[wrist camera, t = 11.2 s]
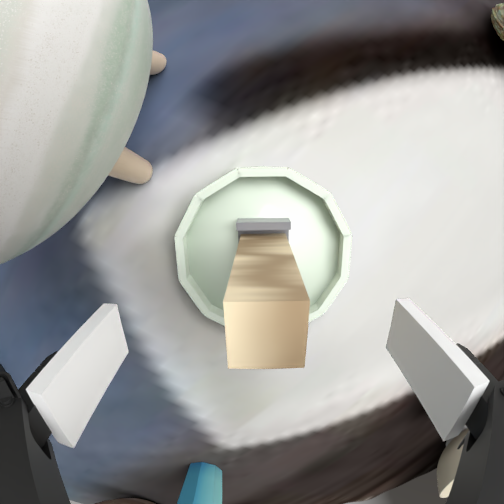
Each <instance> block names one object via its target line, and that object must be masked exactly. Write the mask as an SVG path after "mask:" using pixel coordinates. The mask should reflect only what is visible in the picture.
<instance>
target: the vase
mask: <svg viewBox="0 0 504 504" xmlns="http://www.w3.org/2000/svg"><path fill="white" fill-rule="evenodd" d="M95 504H155V503H153V502H150V501H147V500H143V499H137V498H120V499H113V500H107V501H102V502H99V503H95Z"/></svg>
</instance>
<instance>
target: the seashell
mask: <svg viewBox="0 0 504 504" xmlns="http://www.w3.org/2000/svg"><path fill="white" fill-rule="evenodd" d="M491 21H492V23H493V27H494V29H495V31H496V33H497V34H498V36H499V37H500V38H501V39H502V40H503V42H504V3H501V4H497V5H496V6H495V7H494V8H492V14H491Z"/></svg>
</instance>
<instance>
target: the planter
mask: <svg viewBox="0 0 504 504" xmlns="http://www.w3.org/2000/svg"><path fill="white" fill-rule="evenodd" d="M165 66H166V58H165V56H164V55H163V54H161V53H158V52H156V51H153V30H152V21H151V14H150V9H149V5H148V1H147V0H0V264H2V263H4V262H7V261H9V260H11V259H13V258H15V257H17V256H19V255H21V254H23V253H25V252H27V251H29V250H30V249H32V248H34V247H35V246H37V245H38V244H40V243H42V242H43V241H45V240H46V239H48V238H49V237H50V236H52V235H53V234H54V233H56V232H57V231H58V230H59V229H61V228H62V227H63V226H64V225H65V224H66V223H67V222H69V221H70V220H71V219H72V218H73V217H74V216H75V215H76V214H77V213H78V212H79V211H80V210H81V209H82V208H83V207H84V206H85V205H86V203H87V202H88V201H89V200H90V199H91V198H92V196H93V195H94V194H95V193H96V191H97V190H98V189H99V187H100V186H101V185H102V183H103V182H104V181H105V179H106V178H107V176H111V177H115V178H118V179H121V180H124V181H128V182H131V183H136V184H144V183H146V182H147V181H149V179H150V178H151V176H152V172H153V170H152V166H151V164H150V163H149V162H148V161H147V160H145V159H144V158H142V157H140V156H139V155H137V154H136V153H134V152H132V151H131V150H129V149H128V148H126V147H125V146H126V143H127V141H128V139H129V137H130V135H131V133H132V130H133V128H134V126H135V123H136V121H137V118H138V115H139V113H140V110H141V107H142V104H143V100H144V97H145V93H146V89H147V85H148V81H149V75H154V74H158V73H160V72H161V71H162V70H163V69H164V68H165Z"/></svg>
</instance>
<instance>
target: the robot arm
mask: <svg viewBox="0 0 504 504" xmlns="http://www.w3.org/2000/svg"><path fill="white" fill-rule="evenodd" d="M386 348H387V350H388V351H389V353H390V354H391V356H392V358H393V359H394V361H395V362H396V364H397V365H398V367H399V368H400V370H401V372H402V373H403V375H404V376H405V378H406V379H407V381H408V383H409V384H410V386H411V387H412V389H413V391H414V392H415V394H416V396H417V397H418V399H419V401H420V402H421V404H422V406H423V407H424V409H425V411H426V412H427V414H428V416H429V417H430V419H431V421H432V422H433V424H434V426H435V428H436V429H437V431H438V433H439V435H440V436H441V438H442V440H443V441H446V440H449V439H451V438H454V437H456V436H458V435H459V434H460V432H461V431H462V429H463V428H464V426H465V425H466V426H467V428H468V429H469V431H468V432H467V434H466V435H465V437H464V438H463V440H462V441H461V443H460V444H459V446H458V448H457V449H460V448H461V446H462V445H463V444H464V445H463V449H462V453H461V457H460V461H459V465H458V468H457V472H456V475H455V478H454V482H453V485H452V488H451V491H450V494H449V496H448V499H447V502H446V504H504V380H503V381H499V382H498V381H497V380H496V378H495V377H494V376H493V375H492V374H491V373H490V372H489V371H488V370H487V369H486V368H485V366H484V365H483V364H482V363H480V361H479V360H478V359H477V358H476V357H474V355H473V354H472V353H471V352H470V351H469V350H468V349H467V348H465V347H464V346H462V345H460V344H455V343H454V342H453V341H452V340H451V339H450V338H449V337H448V336H447V334H446V333H445V332H444V331H443V330H442V329H441V328H440V327H439V326H438V325H437V324H436V323H435V322H434V321H433V320H432V319H431V318H429V317H428V316H427V315H426V314H425V313H424V312H423V311H422V310H421V309H420V308H419V307H418V306H417V305H416V304H415V303H414V302H413V301H412V300H411V299H410V298H403V299H396V302H395V307H394V312H393V317H392V322H391V327H390V331H389V336H388V340H387V344H386ZM128 352H129V351H128V347H127V344H126V340H125V336H124V332H123V328H122V324H121V320H120V315H119V311H118V306H117V304H106V303H104V304H103V305H102V306H101V307H100V308H99V309H98V310H97V311H96V312H95V313H94V314H93V315H92V316H91V317H90V318H89V319H88V320H87V321H86V322H85V323H84V324H83V325H82V326H81V327H80V328H79V330H78V331H77V332H76V333H75V334H74V335H73V336H72V337H71V338H70V339H69V340H68V341H67V342H66V344H65V345H64V346H63V347H62V348H61V349H60V350H59V351H58V352H57V351H56V352H54V353H53V354H51V355H50V356H48V357H47V358H46V359H45V360H44V361H43V362H42V363H41V364H40V366H39V367H38V368H37V369H36V370H35V372H33V373H32V374H31V376H30V377H29V378H28V379H27V380H26V381H25V383H24V384H23V385H22V386H21V387H20V388H19V390H18V389H17V387H16V385H15V383H14V381H13V379H12V377H11V375H10V374H9V373H7V372H5V371H4V369H3V368H2V366H1V365H0V504H71V503H70V501H69V498H68V495H67V493H66V490H65V487H64V484H63V481H62V478H61V475H60V472H59V469H58V465H57V462H56V459H55V455H54V451H53V447H52V444H51V442H50V440H49V439H48V438H49V436H50V435H51V433H52V434H53V436H54V437H55V438H56V440H57V441H58V443H61V444H64V445H66V446H69V447H72V448H74V447H75V445H76V443H77V441H78V440H79V438H80V436H81V434H82V432H83V430H84V428H85V427H86V425H87V423H88V421H89V419H90V417H91V416H92V414H93V412H94V410H95V409H96V407H97V405H98V403H99V401H100V400H101V398H102V396H103V394H104V393H105V391H106V389H107V387H108V386H109V384H110V382H111V381H112V379H113V377H114V376H115V374H116V372H117V370H118V369H119V367H120V365H121V364H122V362H123V360H124V359H125V357H126V355H127V354H128Z"/></svg>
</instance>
